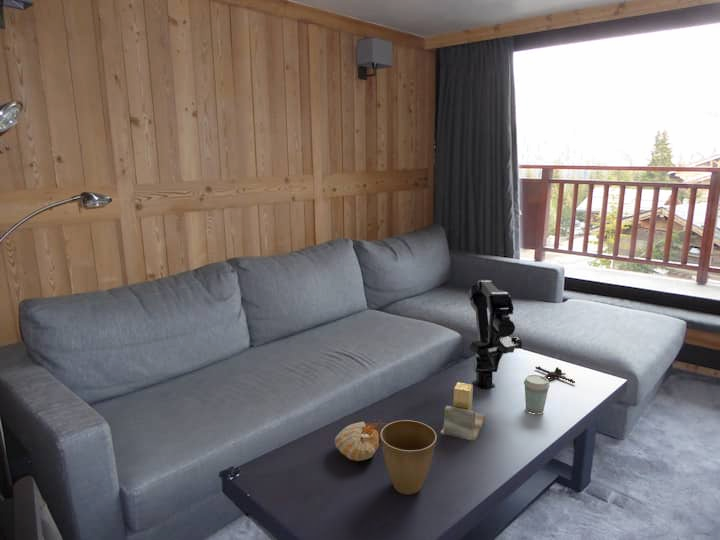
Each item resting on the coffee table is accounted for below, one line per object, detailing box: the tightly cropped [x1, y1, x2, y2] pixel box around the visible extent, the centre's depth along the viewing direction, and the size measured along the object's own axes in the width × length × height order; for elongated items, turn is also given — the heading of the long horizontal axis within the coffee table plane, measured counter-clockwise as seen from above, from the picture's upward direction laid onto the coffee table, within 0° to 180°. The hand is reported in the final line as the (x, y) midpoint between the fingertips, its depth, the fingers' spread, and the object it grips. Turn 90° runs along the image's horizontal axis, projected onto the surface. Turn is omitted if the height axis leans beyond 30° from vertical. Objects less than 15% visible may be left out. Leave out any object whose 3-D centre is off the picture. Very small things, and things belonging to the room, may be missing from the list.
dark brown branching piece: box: [535, 365, 576, 384], centre depth 208 cm, size 18×4×14 cm
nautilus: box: [334, 418, 389, 462], centre depth 159 cm, size 8×22×15 cm
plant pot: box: [380, 419, 437, 495], centre depth 141 cm, size 15×15×16 cm
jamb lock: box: [440, 405, 486, 442], centre depth 173 cm, size 16×11×9 cm, turn 155°
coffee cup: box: [523, 374, 551, 414], centre depth 182 cm, size 8×8×12 cm
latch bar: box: [452, 381, 474, 411], centre depth 170 cm, size 6×5×14 cm
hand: (494, 367), depth 188 cm, fingers closed
